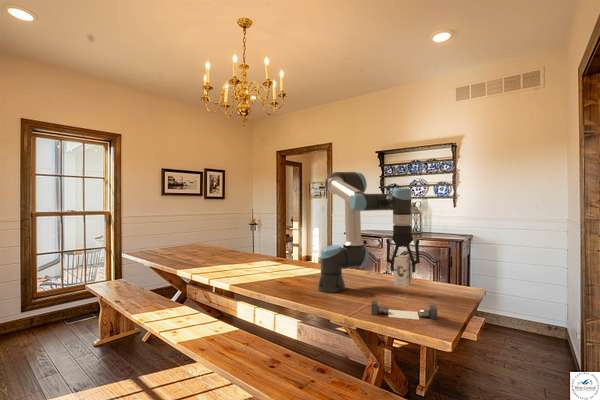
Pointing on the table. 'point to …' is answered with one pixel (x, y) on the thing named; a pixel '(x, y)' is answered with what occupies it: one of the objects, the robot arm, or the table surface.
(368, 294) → the table surface
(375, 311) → the shaft stub
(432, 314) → the shaft stub
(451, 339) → the table surface
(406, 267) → the ink box
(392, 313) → the pad
